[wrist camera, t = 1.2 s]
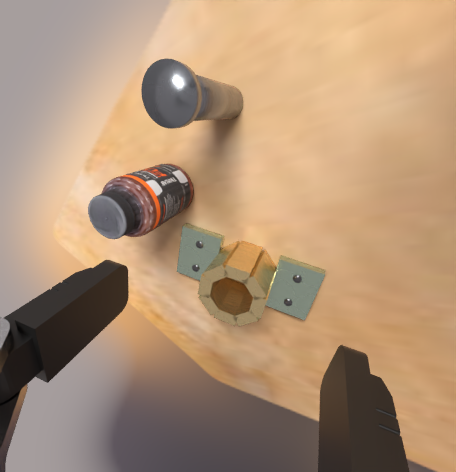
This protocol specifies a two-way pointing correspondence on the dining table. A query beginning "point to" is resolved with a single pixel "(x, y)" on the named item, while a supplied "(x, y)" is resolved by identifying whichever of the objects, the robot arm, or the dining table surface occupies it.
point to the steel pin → (186, 96)
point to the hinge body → (245, 278)
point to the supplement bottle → (140, 201)
